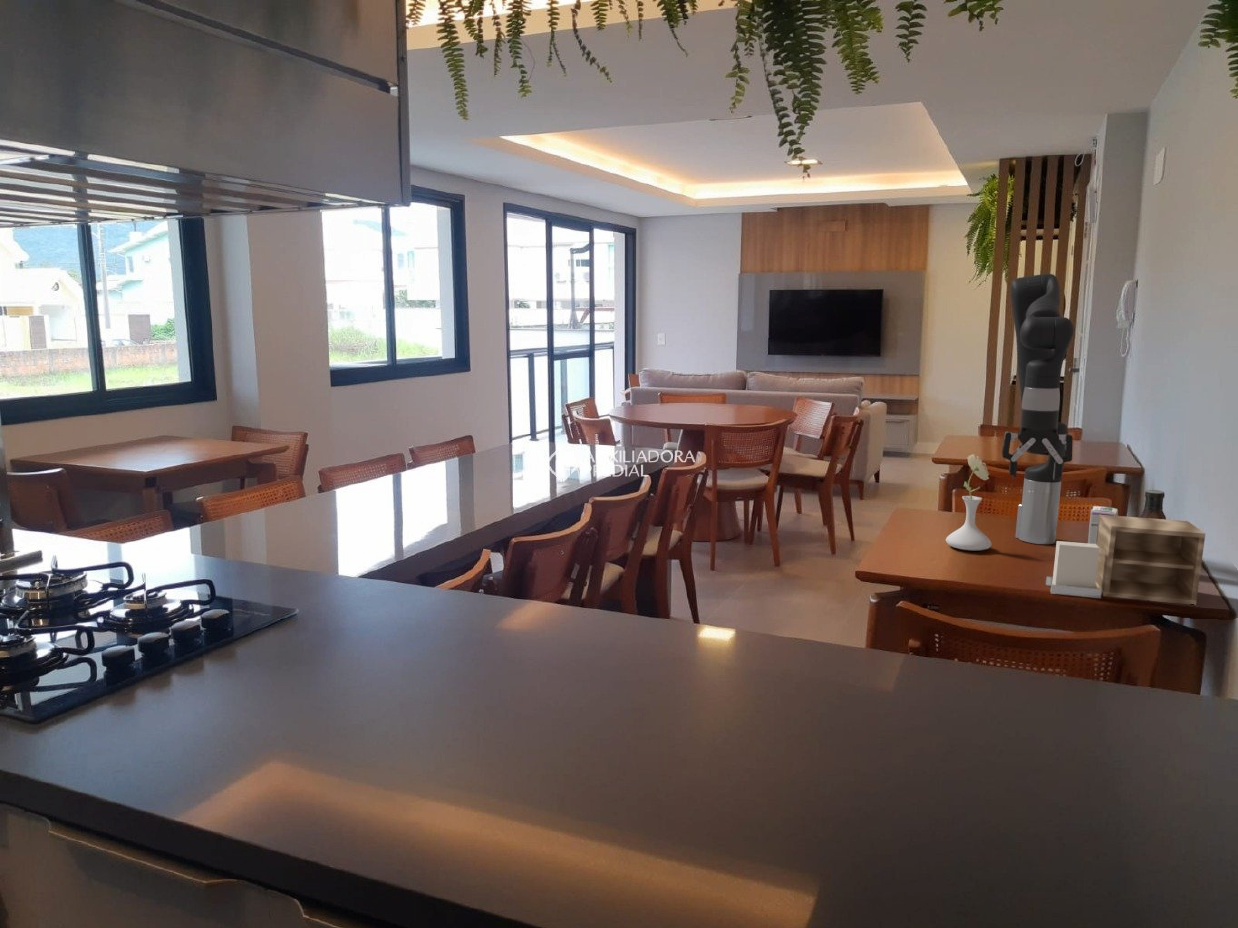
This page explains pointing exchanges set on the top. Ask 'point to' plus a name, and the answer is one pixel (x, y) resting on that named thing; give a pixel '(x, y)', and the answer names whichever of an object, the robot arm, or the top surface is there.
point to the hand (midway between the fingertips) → (1034, 478)
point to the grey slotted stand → (1073, 590)
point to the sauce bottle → (1153, 505)
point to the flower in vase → (971, 515)
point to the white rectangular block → (1075, 564)
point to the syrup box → (1095, 520)
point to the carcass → (1149, 559)
